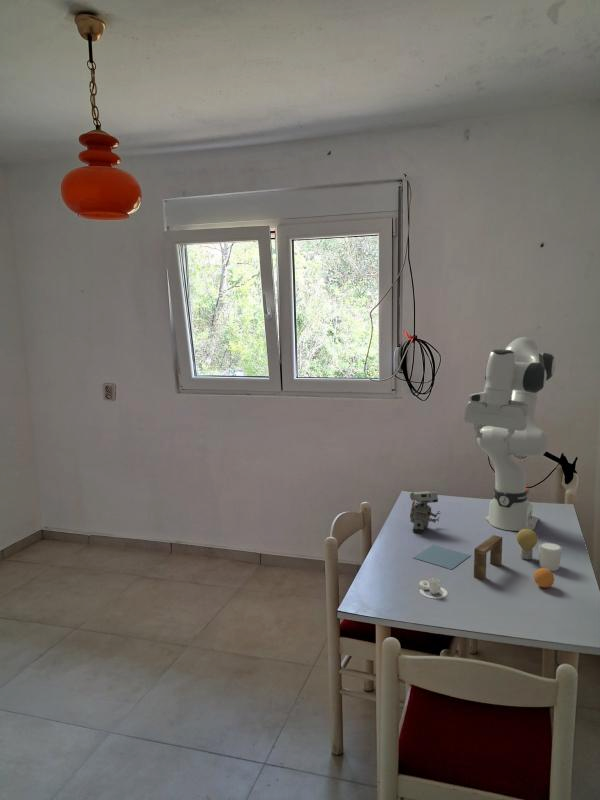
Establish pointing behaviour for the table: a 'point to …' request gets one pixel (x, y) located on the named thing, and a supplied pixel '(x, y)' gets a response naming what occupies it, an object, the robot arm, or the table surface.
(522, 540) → the light bulb
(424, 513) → the figurine
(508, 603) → the table surface
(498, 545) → the bridge
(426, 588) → the mug and donut ornament
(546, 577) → the ball
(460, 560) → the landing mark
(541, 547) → the white cylinder
